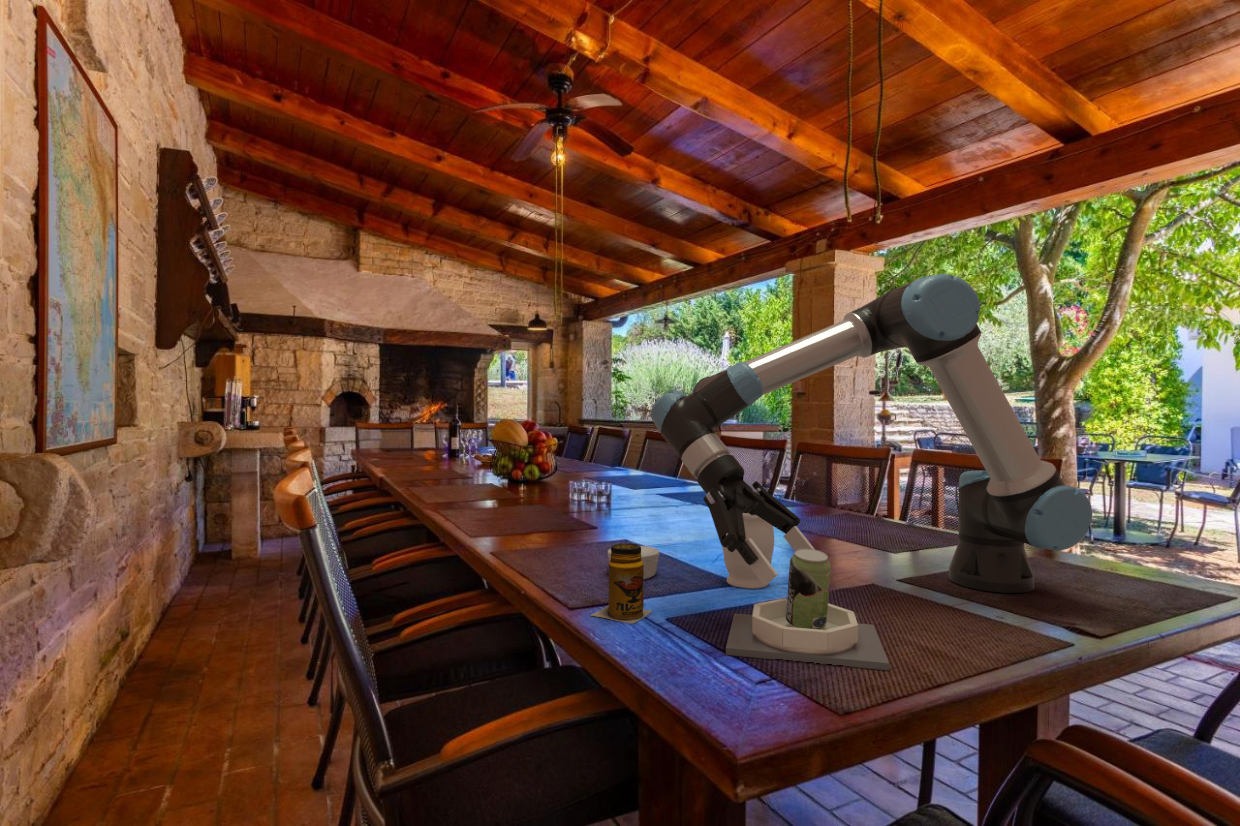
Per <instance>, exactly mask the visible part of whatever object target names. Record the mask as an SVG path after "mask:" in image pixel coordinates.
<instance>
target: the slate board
mask: <svg viewBox="0 0 1240 826" xmlns="http://www.w3.org/2000/svg"><path fill="white" fill-rule="evenodd" d="M752 615H753V614H746V613H745V614H744V613H735V612H734V613H733V616H732V621H731V625H730V630H729V634H728V637H727V641H726V646H725V656H734V657H746V658H755V659H765V660H766V659H767V660H775V659H783V660H782V661H785V660H793V661H792V662H795V661H804V662H803V663H805V662H814V663H813V664H816V663H820V664H819V665H826V664H832V665H831V666H836V665H843V666H842V667H847V666H849V667H848V668H856V669H857V668H859V669H867V670H869V669H870V670H880V671H888V672H889V671H890V662H889V658H888V657H887V654H886V652H885V650H884V647H883V645H882V642H881V640H880V637H879V635H878V632H877V630H876V627H875V625H874V624H870V623H869V624H866V623H858V642H857V643H856V644H855V646H854V647H853V648H851V649H850V650H848V651H845V652H841V653H836V654H827V655H811V654H800V653H794V652H788V651H784V650H780V649H777V648H773V647H771V646H768V645H766V644H764V643H762V642H761V641H759V640H758V639H757V638H756V637H755V636H754V634H753V633H752ZM775 661H776V660H775Z"/></svg>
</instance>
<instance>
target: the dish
mask: <svg viewBox="0 0 1240 826" xmlns="http://www.w3.org/2000/svg"><path fill="white" fill-rule="evenodd" d="M786 608H787V598H778V599H773V600H768V601H762V602H758V603H754V604H753V610H752V614H751V615H752V633H753V634H754V636H755V637H756V638H757V639H758V640H759V641H761V642H762V643H764V644H766V645H768V646H771V647H773V648H777V649H780V650H784V651H788V652H794V653H800V654H811V655H827V654H836V653H841V652H845V651H848V650H850V649H851V648H853V647H854V646H855V644H856V643H857V642H858V624H859V623H858V621H857V618H856V613H855V612H854V611H852V610H849V609H847V608H843V607H840V606H838V605H835V604H831V603H829V602H828V611H827V622H826V626H825V627H824V628H822V629H820V630H819V629H807V628H795V627H793V626H792V625H791V624H790V623H789V622H788V621H787V620H786Z"/></svg>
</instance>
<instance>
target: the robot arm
mask: <svg viewBox="0 0 1240 826" xmlns="http://www.w3.org/2000/svg"><path fill="white" fill-rule="evenodd" d="M980 303H981V302H980V299H979V296H978V294H977V292H976V291H975V289H974V288H973V286H972V285H970V284H969V282H967V281H965V280H964V279H962V278H960V277H958V276H956V275H955V276H954V275H952V274H947V273H942V274H934V275H926V276H923V277H920V278H918V279H915V280H913V281H910V282H908V283H906V284H904V285H901V286H899V287H895V288H892V289H891V290H889V291H887V292H886V293H884V294H883V293H882V294H881V295H880V296H879V297H878V296H877V298H875V299H873V300H871V301H870V302H868V303H866V304H864V305H863V306H861V307H859V308H857V309H854V310H852V311H850V312H846V314H844V317H843V320H841V321H839V322H837V323H834V324H831V325H829V326H827V327H825V328H822V329H819V330H817V331H815V332H812V333H810V334H808V335H805V336H803V337H800V338H798V339H796V340H793V341H791V342H788V343H786V344H783V345H781V346H779V347H777V348H774V349H772V350H769V351H767V352H765V353H762V354H760V355H757V356H756V357H753V358H750V359H748V360H746V361H744V362H743V361H739V362H736V363H735V364H733V365H732V366H730V367H727V368H726V369H724V370H723V371H720V372H718V373H716V374H712V375H709V376H706V377H703V378H700V380H698V381H697V382H696V383H695V384H694V386H693V388H692V391H691V393H689V394H688V395H687V394H685V393H683V391H680V390H678V389H677V390H672V391H670V392H666V393H664V394H663V395H661V396H660V397H659V398H658V399H657V400H656V401H655V403H654V404H653V405H652V407H651V409H650V419H651V421H652V422H653V424H654V425H655V427H656V428H657V430H658V431H659V433H660V434H661V436H662V437H663V438H664V440H665V441H666V442H667V443H668V445H669V446H670V447H671V449H672V450H673V451H674V453H675V454H676V455H677V457H678V458H679V459H680V460H681V462H682V463H683V464H684V465H685V467H686V468H687V470H688V472H689V473H690V474H691V475H692V476H693V478H695V479H697V484H698V485H699V486H700V488H701V490H703V492H704V493H705V495H704V497H702V499H703V500H702V501H704V504H706V506H707V508H708V510H709V513H710V516H711V518H712V522H713V524H714V527H715V530H716V534H717V537H718V540H719V543H720V545H721V547H722V546H723V547H725V548H726V547H727V549H728V550H729V551H730V552H733V551H734V550H735V549H737V551H738V552H739V553H740V555H741V556H742V557H743V559H744V560H745V562H746V563H747V564H748V565H749V566H750V568H751V569H752V570H753V572H754V573H755V574H756V576H757V577H758V578H759V580H760V581H761V583H762V584H763V585H764V586H765V585H767V584H768V583H770V582H771V581H773V580H774V579H775V578H776V577H777V576H778V575H779V572H777V571H776V569H775V567H773V565H772V563H771V564H770V563H769V561H768V560H767V559H766V557H765V556H764V555H763V553H762V552H761V551H760V549H759V548H758V547H757V545H756V544H755V543H754V541H753V540H752V539H751V538H750V539H748V540H747V541H745V539H746V534H745V527H744V520H743V514H742V513H749V514H750V515H757V516H758V517H760V518H761V519H763V520H765V521H766V522H768V523H769V524H771V525H772V526H773V528H776V529H777V530H778V531H780V532H782V533H784V536H783V538H784V539H785V540H786V542H787V543H788V544H789V546H790V547H791V548H792V549H793V551H794V552H795V551H796V550H799V549H814V550H816V549H815V548H814V546H813V545H812V544H811V543H810V541H809V540H808V539H807V537H806V536H805V535H804V534H803V533H802V532H801V530H800V529H799V527H798V525H799V524H801V519H800V518H799V516H797V514H795V513H794V512H792V511H791V510H790V509H789V508H788V507H787V506H786V505H784V504H782V503H781V501H779V500H778V499H777V498H775V497H774V495H772V494H771V493H769V492H768V491H767V490H766V489H765V488H764V487H763V486H762V484H761V483H760V482H758V481H756V480H755V481H754V482H753V483H752V484H751V485H749V484H748V483H747V482H746V481H745V480H744V477H745V476H744V475H745V468H744V467H743V466H742V465H741V464H740V462H739V461H738V460H737V458H736V457H735V456H734V455H733V454H731V451H730V449H729V448H728V447H727V445H726V444H725V443H724V442H723V441H722V440H721V438H720V437H719V436H718V435H717V433H716V432H715V431H714V430H715V429H717V428H719V427H720V426H721V425H722V424H724V423H725V422H726V421H729V420H730V419H731V418H733V417H736V415H738V414H739V413H741V412H742V411H744V410H745V409H746V408H748V407H752V406H753V404H754V403H755V402H756V401H758V400H759V399H761V397H763V396H764V395H767V394H769V393H771V392H774V391H777V390H779V389H782V388H783V387H786V386H788V385H791V384H793V383H796V382H797V381H800V380H803V379H804V378H808V377H810V376H813V375H815V374H817V373H819V372H822V371H824V370H827V369H829V368H831V367H834V366H836V365H838V364H841V363H843V362H846V361H848V360H850V359H853V358H856V357H861V358H863V359H864V358H869V357H870V356H873V355H876V354H878V353H882V352H887V351H891V350H896V349H901V348H902V349H903V348H908V351H909V352H910V354H911V355H912V358H913V359H914V362H915V363H916V364H917V365H921V366H925V367H927V368H929V370H930V371H931V373H932V375H933V377H934V379H935V380H936V382H937V384H938V386H939V388H940V390H941V391H942V393H943V395H944V397H945V399H946V400H947V402H948V404H949V406H950V407H951V410H952V412H953V413H954V415H955V416H956V418H957V420H958V422H959V424H960V426H961V428H962V429H963V432H964V433H965V434H966V436H967V438H968V440H969V442H970V445H971V446H972V447H973V450H974V451H975V453H976V455H977V456H978V458H979V460H980V462H981V464H982V465H983V467H984V469H985V470H970V471H969V470H967V471H966V470H965V471H964V472H962V473H961V474H960V476H959V479H958V480H959V481H958V487H957V492H958V542H957V545H956V548H955V551H954V553H953V557H952V559H951V561H950V563H949V566H948V580H950V582H953V583H954V584H957V585H959V586H962V587H966V588H970V589H975V590H979V591H987V592H992V593H1005V594H1019V593H1028V592H1032V591H1034V589H1035V575H1034V572H1033V570H1032V566H1031V564H1030V561H1029V558H1028V555H1027V552H1026V550H1025V544H1026V545H1029V546H1031V547H1035V548H1037V549H1040V550H1050V551H1065V550H1068V549H1070V548H1073V547H1075V546H1076V545H1078V544H1079V543H1080V542H1081V541H1082V540H1083V539H1084V538H1085V537H1086V536H1087V534H1088V532H1089V527H1090V525H1092V520H1093V507H1092V504H1091V501H1090V500H1089V498H1088V496H1087V495H1086V494H1085V493H1084V492H1083V491H1081V490H1080V489H1078V488H1076V487H1074V486H1072V485H1071V486H1070V485H1066V484H1065V482H1064V481H1063V479H1062V477H1061V475H1060V473H1059V471H1058V470H1057V468H1056V466H1055V465H1054V464H1053V463H1051V462H1049V461H1045V460H1041V459H1040V457H1039V455H1038V453H1037V451H1036V449H1035V448H1034V446H1033V443H1031V440H1030V439H1029V437H1028V434H1027V433H1026V431H1025V429H1024V427H1023V426H1022V424H1021V422H1020V421H1019V419H1018V417H1017V415H1016V413H1015V412H1014V410H1013V408H1012V406H1011V404H1010V401H1008V398H1007V397H1006V395H1005V393H1004V391H1003V389H1002V387H1001V385H1000V384H999V382H998V380H997V379H996V376H995V375H994V373H993V371H992V369H991V367H990V366H989V364H988V362H987V360H986V359H985V356H984V355H983V353H982V351H981V349H980V347H979V341H980V338H981V335H983V334H982V331H981V329H980V327H979V325H978V321H979V319H980V316H979V313H980V312H981V304H980ZM727 533H728V535H727V536H726V534H727ZM768 585H769V584H768ZM768 585H767V586H768Z"/></svg>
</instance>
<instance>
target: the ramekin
mask: <svg viewBox="0 0 1240 826" xmlns="http://www.w3.org/2000/svg"><path fill="white" fill-rule="evenodd" d="M639 546H640V547H641V555H642V557H641V560H642V562H643V565H644V576H643V580H646V579H645V578H648V579H650V577H651V578H653V577H654V576H655V575H656V573H657V567H658V563H659V557H660V550H659V549H658V548H655V547H652V546H645V545H639ZM607 557H608V562H609V561H610V560H611V548H609V549H608V550H607ZM652 576H653V577H652Z"/></svg>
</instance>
